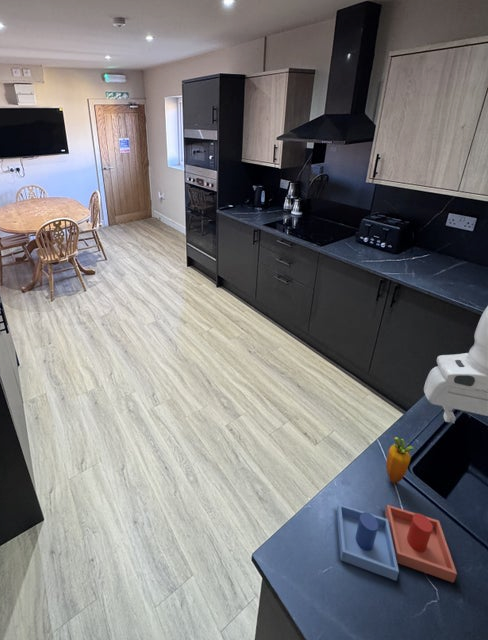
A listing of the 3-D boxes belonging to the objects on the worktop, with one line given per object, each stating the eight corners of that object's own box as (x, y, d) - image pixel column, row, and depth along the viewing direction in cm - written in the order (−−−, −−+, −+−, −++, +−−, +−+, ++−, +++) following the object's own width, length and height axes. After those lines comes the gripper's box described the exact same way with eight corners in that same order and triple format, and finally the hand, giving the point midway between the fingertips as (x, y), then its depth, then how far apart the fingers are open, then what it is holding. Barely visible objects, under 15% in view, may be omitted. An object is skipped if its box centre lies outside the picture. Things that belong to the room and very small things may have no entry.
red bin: (436, 529, 76) (439, 520, 75) (453, 583, 67) (457, 574, 66) (384, 512, 80) (387, 504, 79) (395, 562, 70) (397, 553, 70)
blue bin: (385, 527, 77) (387, 519, 76) (396, 581, 68) (399, 572, 67) (336, 511, 80) (338, 503, 79) (340, 560, 71) (342, 551, 70)
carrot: (407, 487, 85) (419, 445, 80) (394, 495, 83) (405, 452, 79) (390, 470, 89) (400, 429, 85) (377, 477, 88) (387, 435, 83)
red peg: (422, 536, 74) (429, 516, 72) (428, 555, 71) (435, 534, 69) (404, 530, 75) (410, 510, 73) (409, 548, 72) (415, 528, 70)
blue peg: (371, 535, 75) (376, 515, 72) (374, 553, 71) (379, 533, 69) (354, 529, 76) (359, 509, 74) (356, 547, 73) (361, 527, 70)
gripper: (549, 375, 64) (527, 427, 69) (429, 354, 71) (415, 403, 75) (572, 398, 59) (547, 454, 63) (439, 373, 65) (424, 425, 70)
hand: (474, 426), depth 69 cm, fingers open, 8 cm apart
